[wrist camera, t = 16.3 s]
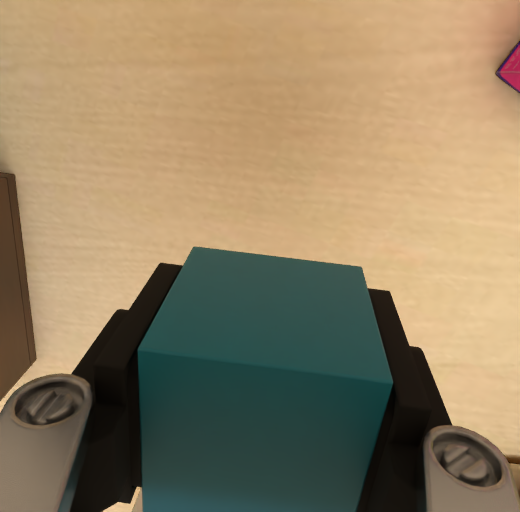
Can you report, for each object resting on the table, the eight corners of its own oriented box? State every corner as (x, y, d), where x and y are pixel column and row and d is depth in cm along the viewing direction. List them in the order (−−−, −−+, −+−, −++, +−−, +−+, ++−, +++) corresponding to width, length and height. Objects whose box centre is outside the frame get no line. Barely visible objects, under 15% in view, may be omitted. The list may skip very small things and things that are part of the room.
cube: (193, 245, 11) (136, 348, 7) (362, 265, 10) (394, 382, 7) (188, 377, 12) (141, 515, 9) (334, 397, 12) (347, 545, 8)
